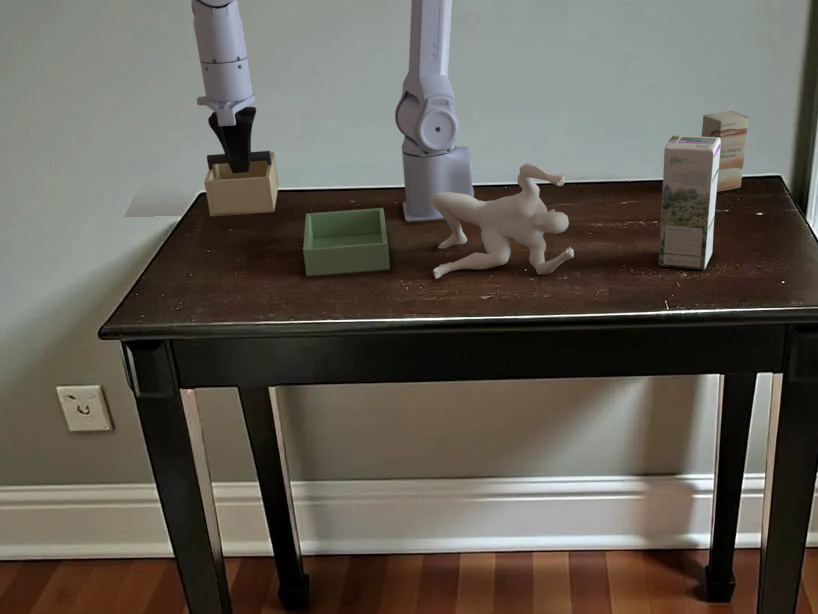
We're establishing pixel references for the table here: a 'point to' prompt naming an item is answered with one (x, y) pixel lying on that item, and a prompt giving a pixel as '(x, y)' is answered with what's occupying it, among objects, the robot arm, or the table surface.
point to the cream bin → (242, 185)
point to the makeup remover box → (728, 145)
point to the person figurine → (504, 224)
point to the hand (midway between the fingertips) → (241, 170)
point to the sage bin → (345, 242)
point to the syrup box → (688, 201)
